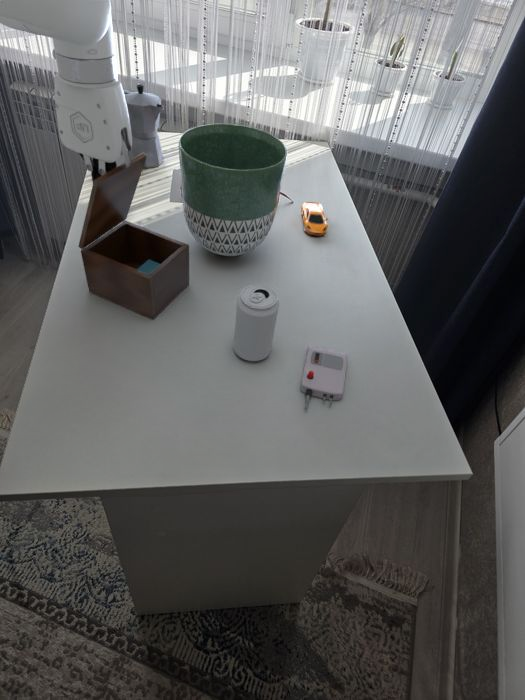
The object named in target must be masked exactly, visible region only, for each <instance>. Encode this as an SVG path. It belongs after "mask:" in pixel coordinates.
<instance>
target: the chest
mask: <svg viewBox="0 0 525 700" xmlns="http://www.w3.org/2000/svg"><path fill="white" fill-rule="evenodd" d="M80 255H81V260H82V265H83V269H84V274H85V281H86V284H87V289H88V292H89V293H91V294H93V295H95V296H98V297H100V298H102V299H104V300H106V301H109V302H111V303H113V304H116V305H118V306H121V307H122V308H125V309H127V310H130V311H132V312H134V313H137V314H138V315H141V316H142V317H145V318H148V319H150V320H152V321H153V320H155V319H156V318H157V317H158V316H159V315H160V314H161V313H162V312H163V311H164V310H165V309H166V308H167V307H168V305H170V304H171V303H172V302H173V301H174V300H175V299H176V298H177V297H178V296H179V295H180V294H181V293H182V292H183V291H184V290H185V289H186V288H188V287H189V285H190V244H188V243H185V242H183V241H180V240H177V239H174V238H172V237H169V236H167V235H164V234H161V233H159V232H157V231H154V230H151V229H149V228H146V227H143V226H141V225H138V224H136V223H133V222H131V221H128V220H127V219H126V220H124V221H123V222H121V223H120V224H118V225H117V226H115V227H114V228H113V229H111V230H110V231H108V232H107V233H105V234H104V235H102V236H101V237H99V238H98V239H97V240H95V241H94V242H92V243H91V244H89V245H88V246H86V247H85V248H83V249H81V250H80ZM147 260H152V261H154V262H157V263H159V264H160V265H159V266H158V267H157V268H156V269H155V270H153V271H152V272H151V273H150V274H149V275H148V274H146V273H143V272H141V271H138V270H136V269H138V268H139V267H140V266H141V265H143V264H144V263H145V262H146V261H147Z"/></svg>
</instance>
